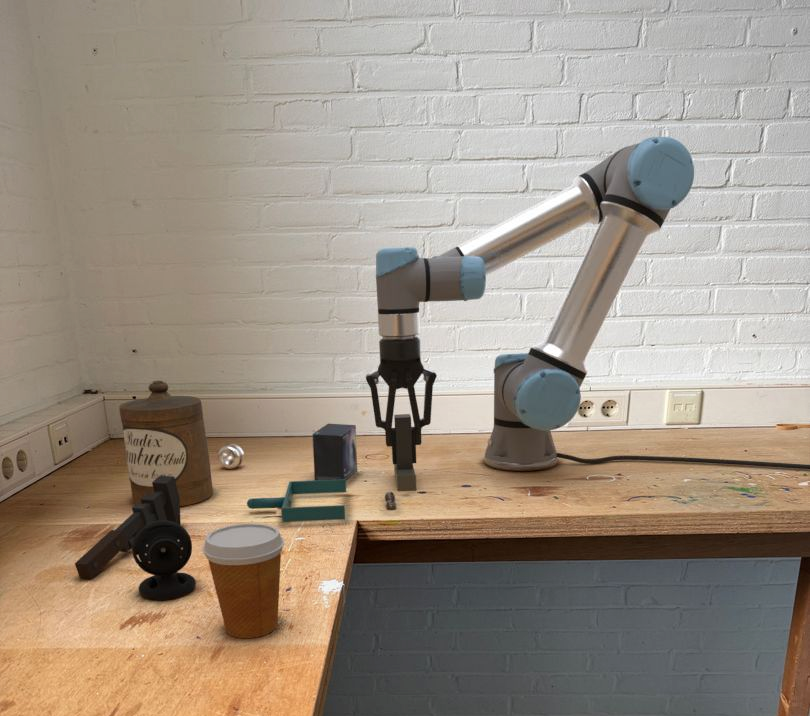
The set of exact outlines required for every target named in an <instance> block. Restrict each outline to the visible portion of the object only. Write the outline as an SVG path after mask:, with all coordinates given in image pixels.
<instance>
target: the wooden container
mask: <svg viewBox="0 0 810 716" xmlns="http://www.w3.org/2000/svg"><path fill="white" fill-rule="evenodd" d="M147 389H148V391H149V392H150V394H149V396H148V397H147V398H146V397H145V398H140V399H134V400H129V401H126V402H123V403H121V404H120V405H119V406H118V407H119V416H120V422H121V424H122V432H123V440H124V447H125V455H126V463H127V465H126V466H127V471H128V478H129V482H130V489H131V496H132V497H131V498H132V501H133V503H134V505H135V504H140V505H142V503H141V498H142V497H144V496H145V495H146V494H147V493H155V492H154V488H153V485H152V482H153V481H154V480H155V479H157V478H158V477H159V476H174V478H175V482H176V486H177V489H178V493H179V497H180V507H184V506H190V505H195V504H198V503H201V502H203V501H205V500H208V499H209V498H210V497H212V496H213V494H214V489H213V488H214V487H213V479H212V471H211V470H212V469H211V462H210V453H209V446H208V442H207V441H208V439H207V434H206V428H205V427H206V426H205V422H204V412H203V406H202V400H201V398H199V397H196V396H191V395H190V396H187V395H171V394H170V393H169V392H168V390H169V384H168V383H166V382H164V381H163V380H154V381H152V383H150V384H149V385H148V387H147Z"/></svg>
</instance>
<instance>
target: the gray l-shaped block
mask: <svg viewBox="0 0 810 716" xmlns="http://www.w3.org/2000/svg"><path fill="white" fill-rule="evenodd" d="M393 420H394V428H395V431H396V454H397V464H393V467H394V469H393V471H394V478H395V479H394V480H395V485H396V491H397V492H410V491H417V475H416V470H415V466H414V463H413V460H412V431H411V427H412V415H411V414H410V413H401V414H393Z"/></svg>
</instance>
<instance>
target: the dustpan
mask: <svg viewBox="0 0 810 716" xmlns="http://www.w3.org/2000/svg"><path fill="white" fill-rule="evenodd" d="M328 493H329V494H330V493H347V481H346V479H339V480H314V479H313V480H292V481H289V482H288V485H287V488H286V491H285V494H284V496H280V497H259V498H257V497H256V498H253V497H252V498H249V499H248V500H247V502H246V504H247V508H248V509H251V510H255V509H256V510H257V509H278V508H281V519H282V520H281V521H282V523H288V522H289V523H290V522H313V521H335V520H336V521H337V520H346V508H345V507H346V506H345V505H344V504H341V505H340V504H338V505H337V504H336V505H313V506H292V507H291V505H292V498H293V495H302V494H305V495H306V494H328Z"/></svg>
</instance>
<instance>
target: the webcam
mask: <svg viewBox="0 0 810 716" xmlns="http://www.w3.org/2000/svg"><path fill="white" fill-rule="evenodd" d="M131 552H132V557H133V559H134V561H135V563H136V565H137V566H138V567H139V568H140V569H141V570H142V571H143V572H145V573H147V574H149V575H151V576H149V577H147V578H145V579H143V580H142V581H141V582H140V584H139V586H138V593H139V594H140V595H141V596H142V597H143V598H145V599H148V600H154V601H155V600H156V601H170V600H174V599H179V598H181V597H184V596H186V595H187V594H190V593H191V592H193V591H194V589H195V588H196V584H197V581H196V579H195V577H194V576H193V575H192V574H189V573H186V572H179V571H181V570H182V569H184V567H185V566H186V565H187V564H188V562H189V560H190V558H191V556H192V552H193V543H192V539H191V535H190V534H189V532H188V531H187V530H186V528H184V526H182V525H179V524H178V523H176V522H172V521H167V520H158V521H153V522H151V523H149V524H147V525H145V526H144V527H142V528H141V529H140V530H139V531H138V532H137V534H136V536H135V538H134V540H133V544H132V549H131ZM155 586H156V587H155ZM153 587H155V588H153Z"/></svg>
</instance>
